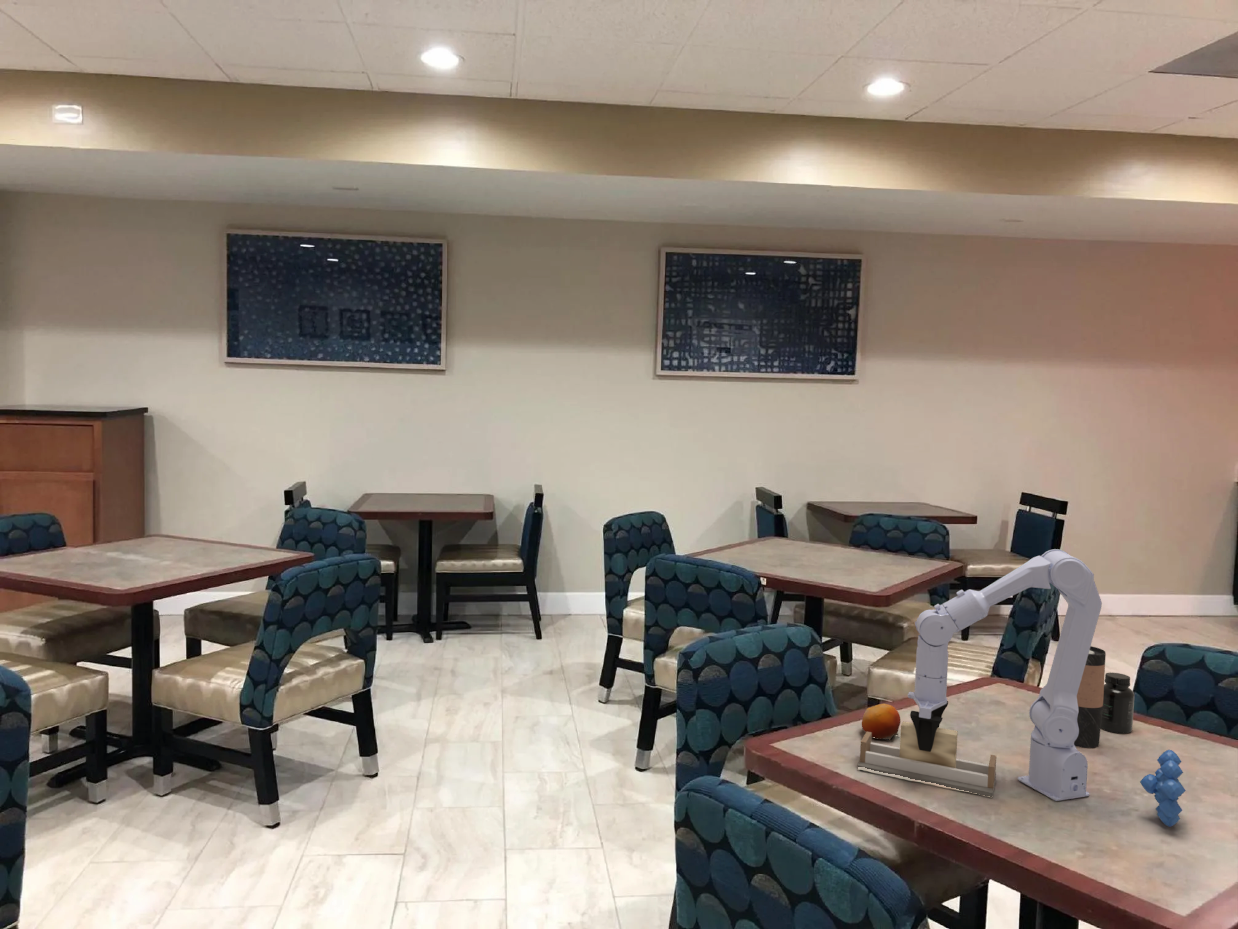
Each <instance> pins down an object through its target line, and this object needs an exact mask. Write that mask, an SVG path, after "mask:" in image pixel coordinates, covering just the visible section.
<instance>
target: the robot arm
mask: <svg viewBox="0 0 1238 929" xmlns="http://www.w3.org/2000/svg"><path fill="white" fill-rule="evenodd" d="M1050 584H1051V585H1053V587H1055V588H1056V589H1057V590H1058V592H1059V594H1060V595H1061V596H1062V598H1063V599H1064V601H1065V602H1066V603H1067V605H1068V606H1067V609H1066V612H1065V616H1064V620H1063V623H1062V627H1061V631H1060V635H1059V638H1058V642H1057V646H1056V649H1055V651H1054V652H1055V654H1054V656H1053V660H1052V664H1051V667H1050V671H1049V674H1048V678H1047V682H1046V684H1045V685H1044V686H1042V688H1040V691H1039V695H1038V697H1037V698H1036V699H1035V700H1034V701H1033V702H1032V703H1031V705H1030V706H1029V710H1028V711H1029V713H1028V714H1029V719H1030V721H1031V723H1032V724H1033V725H1034V728H1033V730H1032V731H1031V733H1030V746H1029V747H1030V748H1029V749H1030V750H1029V762H1028V775H1022V776H1017V781H1019V782H1020V783H1022V784H1024V785H1026V786H1028V787H1030V788H1031V789H1034V790H1035V791H1037V792H1039V793H1041V794H1042V795H1044V796H1046V797H1048V798H1049V799H1051V800H1053V801H1055V802H1056V801H1057V802H1058V801H1059V802H1060V801H1065V800H1070V799H1071V800H1072V799H1077V798H1078V799H1079V798H1083V797H1089V796H1090V792H1088V791H1087V781H1088V780H1087V779H1088V767H1089V766H1088V759H1087V757H1086V756H1085V755H1084V754H1083V753H1082V752H1081V751H1080V750H1078V749H1077V746H1075V745H1074V741H1075V740H1076V739H1077V737H1078V734H1079V727H1078V723H1077V716H1078V713H1079V710H1078V703H1077V693H1078V689H1079V686H1080V682H1081V679H1082V675H1083V671H1084V668H1085V664H1086V661H1087V657H1088V654H1089V650H1090V646H1092V642H1093V638H1094V635H1095V631H1096V627H1097V624H1098V620H1099V617H1100V613H1101V610H1102V604H1103V603H1102V598H1101V596H1100V593H1099V590H1098V588H1097V585H1096V581H1095V574H1094V573H1093V572H1092V570H1091V569H1090V568H1089V567H1088V566H1087V564H1086V563H1085V562H1083V561H1082V560H1081V559H1079V558H1077V557H1075V556H1072V555H1070V554H1069V553H1068V552H1066V551H1064V550H1063V549H1058V548H1057V549H1056V548H1054V549H1049V550H1047V551H1045V552H1044V553H1043V554H1041V555H1037V556H1034V557H1032V558H1031V559H1029V560H1028V561H1026V562H1025V563H1023V564H1021V565H1020V566H1018V567H1017V568H1015V569H1013V570H1012V571H1010V572H1008V573H1007V574H1005V575H1004V576H1002V577H1000V578H998V579H997V580H995V581H994V582H992V583H991V584H989V585H988V586H986V587H984V588H982V589H981V590H975V589H967V590H965V591H964V590H963V589H960V590H958V591H957V592H955V593H956V596H954V597H953V598H951V599H949V600H947V601H945V602H943V603H942V604H939V603H937V604H935V605H934V606H933V607H934V609H926V610H923V611H922V612H921V613H920V614H919V615H918V617H917V618H916V621H914V625H915V628H916V629H915V630H916V631H917V633H918V635H917V647H916V651H915V652H916V654H915V655H916V656H915V673H914V674H915V676H914V677H915V678H914V691H909V692H908V693H907V698H908V699H912V700H913V701H914V702H915V704H916V705H917V706H918V709H919V710H918V711H917V710H911V711H910V714H909V716H910V717H909V718H910V719H911V721H912V722H911V723H913V724H914V726H915V730H916V734H917V741H918V747H919V750H922V751H927V752H931V750H932V747H933V743H934V738H935V734H936V730H937V728H940V724H941V723H942V721H943V718H944V717H942V716H943V715H944V712H945V710H946V708H947V707H948V705H949V701H948V697H947V691H948V690H947V686H948V670H949V669H948V668H949V650H948V649H949V642H950V641H951V640H952V638H953V636H954V634H955V633H959V632H960V631H963V630H964V629H966V628H967V627H970V626H971V625H973V624H975V623H977V622H978V621H981V620H983V619H985V618H986V617H987V616H988V615H989V611H990V608H991V607H992V606H994V605H997V604H998V603H1000V602H1003V601H1005V600H1006V599H1008V598H1011V597H1012V596H1013V597H1014V596H1015V595H1017V594H1019V593H1021V592H1023V591H1025V590H1028V589H1030V588H1036V589H1045V590H1051V589H1052V587H1051V585H1050Z"/></svg>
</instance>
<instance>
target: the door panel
mask: <svg viewBox="0 0 1238 929" xmlns="http://www.w3.org/2000/svg"><path fill="white" fill-rule="evenodd" d="M958 735H959V732H958V730H954V729H949V728H943V727H939V728H937V730H936V734H935V738H934V743H933V747H932V750H931V752H927V751H922V750H919V747H918V741H917V734H916V730H915V726H914V724H913V722H909V721H908V722H907V721H902V723H900V735H899V738H900V739H899V748H900V756H899V757H900V758H905V759H911V760H916V761H921V762H926V763H931V764H936V765H941V766H946V767H951V768H956V758H957V753H958V752H957V749H958Z"/></svg>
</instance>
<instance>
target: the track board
mask: <svg viewBox="0 0 1238 929" xmlns="http://www.w3.org/2000/svg"><path fill="white" fill-rule="evenodd" d="M872 739H873V738H872V732H865V734H863V737H862V739H861V741H860V748H859V749H860V750H859V752H860V753H859V762H858V764H857V768H858V767H865V768H867V769H871V770H874V771H879V772H883V773H888V774H895V775H900V776H903V777H908V778H910V779H915V780H921V781H925V782H931V783H936V784H939V785H944V786H946V787H951V788H956V789H959V790H964V791H969V792H972V793H977V794H980V795H985V796H990V797H992V796H993V797H994V791H993V790H995V785H996V784H995V783H996V779H995V778H997V771H996V770H997V755H995V754H990V756H989V763H988V764H987V763H982V762H976V761H972V760H965V759H960V758H957V757H956V768H951V767H946V766H941V765H936V764H931V763H926V762H921V761H916V760H911V759H905V758H900V757H899V756H900V746H899V747H898V746H892V745H889V744H882V743H878V742H874V741H873V742H872ZM994 784H995V785H994ZM993 797H992V798H993Z"/></svg>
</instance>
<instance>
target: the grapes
mask: <svg viewBox="0 0 1238 929" xmlns="http://www.w3.org/2000/svg"><path fill="white" fill-rule="evenodd" d="M1156 761H1157V763H1158V764H1159V767H1158V768H1157V769H1156V770H1155V771H1154V774H1155V775H1154V774H1151V773H1149V774H1147V775H1144V776H1143V778H1142V779H1141V780H1140V781H1139V783H1140V784H1141V786H1142V788H1143V790H1145V791H1146V793H1148V794H1152V795H1153V794H1154V795H1153V796H1154V799H1155V801H1156V802H1157V803H1158V806H1157V807H1155V810H1156V812H1157V814H1156V815H1157V816H1158V818H1159V819H1160V821H1161V822H1162V823H1163V824H1164V826H1166V827H1169V828H1170V827H1173V826H1175V825H1176V824H1177V823H1178V822H1179V821H1180V820H1181V818H1180V816H1179V815H1180V814H1181V813H1182V811H1183V809H1182V807H1181V805H1180V804H1179V802H1178V800H1179V797H1181V796H1182V795H1183V794H1184V793H1185V792H1186V789H1185V787H1184V785H1183V784H1182V783H1181V782H1180V780H1179V778H1180V776H1181V775H1182V774H1183V773H1184V772H1183V770H1182V769H1181V767H1180V764H1181V763H1182V760H1181V759H1180V757H1179V756H1178V754H1177V753H1176V752H1175V751H1174V750H1172V749H1167V750H1165V751H1163V752H1162V753H1161V754H1160V755H1159V756H1158V758H1157V759H1156Z"/></svg>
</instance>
